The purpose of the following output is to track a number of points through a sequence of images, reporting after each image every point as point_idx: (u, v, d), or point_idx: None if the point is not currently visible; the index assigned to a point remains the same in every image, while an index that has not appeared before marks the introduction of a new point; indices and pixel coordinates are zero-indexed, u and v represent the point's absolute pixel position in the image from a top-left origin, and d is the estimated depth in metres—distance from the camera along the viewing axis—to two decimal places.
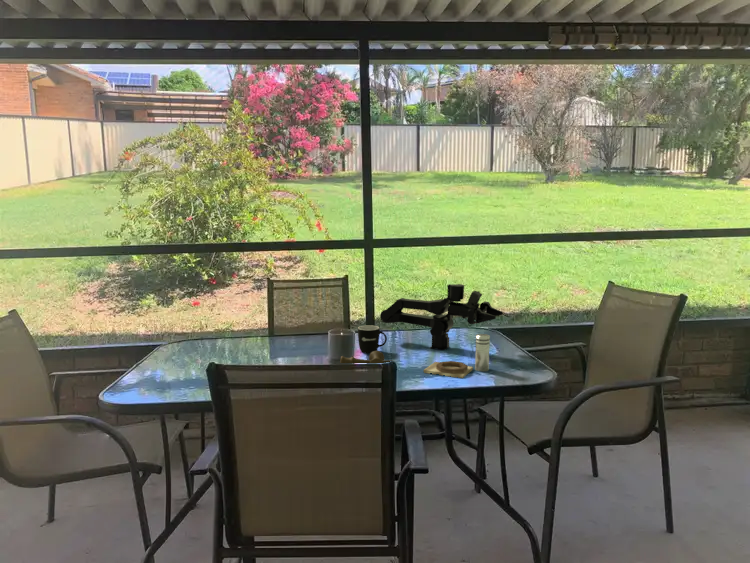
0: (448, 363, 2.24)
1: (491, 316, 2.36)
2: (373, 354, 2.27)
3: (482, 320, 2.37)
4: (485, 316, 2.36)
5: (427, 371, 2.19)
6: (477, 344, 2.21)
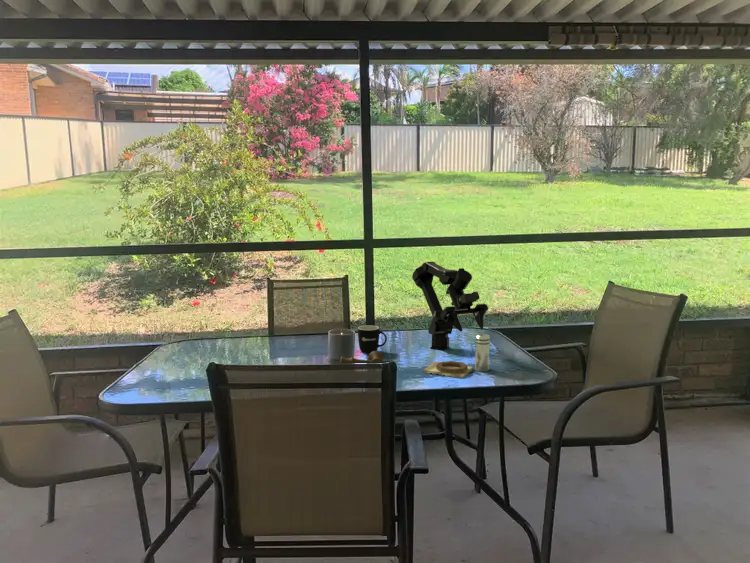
0: (448, 363, 2.24)
1: (459, 327, 2.27)
2: (372, 354, 2.27)
3: (452, 323, 2.30)
4: (455, 322, 2.29)
5: (427, 371, 2.19)
6: (477, 344, 2.21)
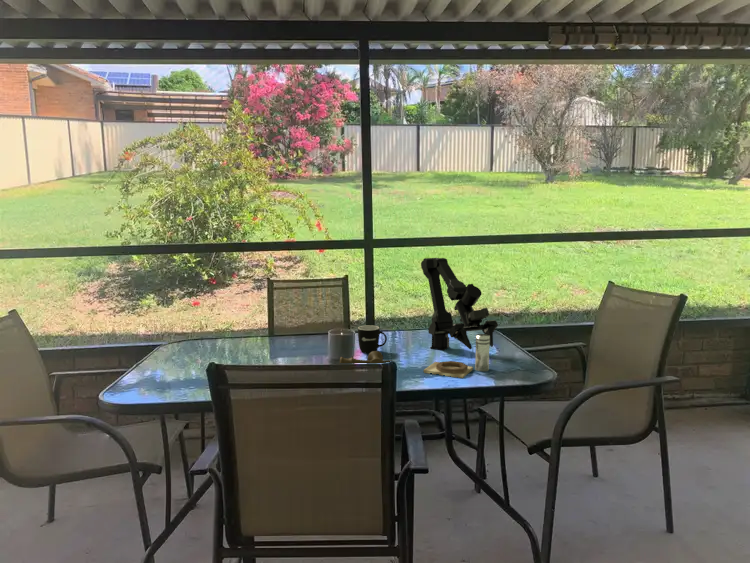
0: (448, 363, 2.24)
1: (468, 345, 2.22)
2: (372, 354, 2.27)
3: (461, 340, 2.24)
4: (464, 340, 2.23)
5: (427, 371, 2.19)
6: (477, 344, 2.21)
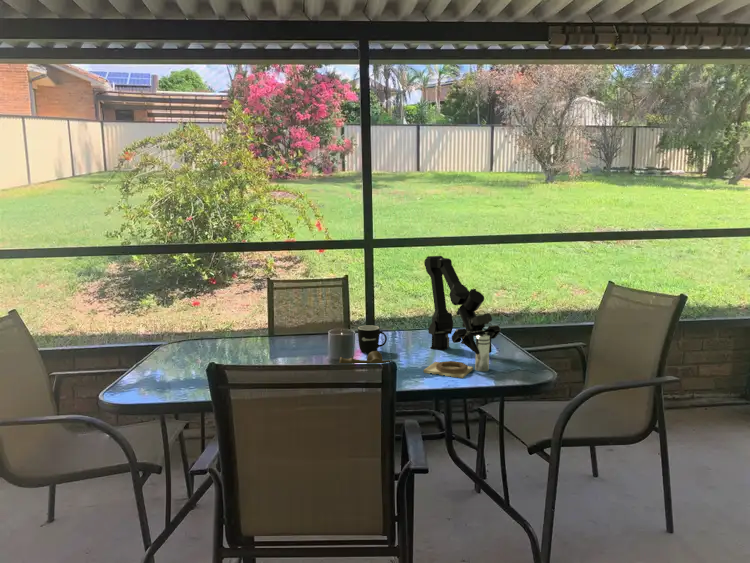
0: (448, 363, 2.24)
1: (475, 350, 2.21)
2: (372, 354, 2.26)
3: (468, 345, 2.24)
4: (471, 345, 2.22)
5: (427, 371, 2.19)
6: (477, 344, 2.21)
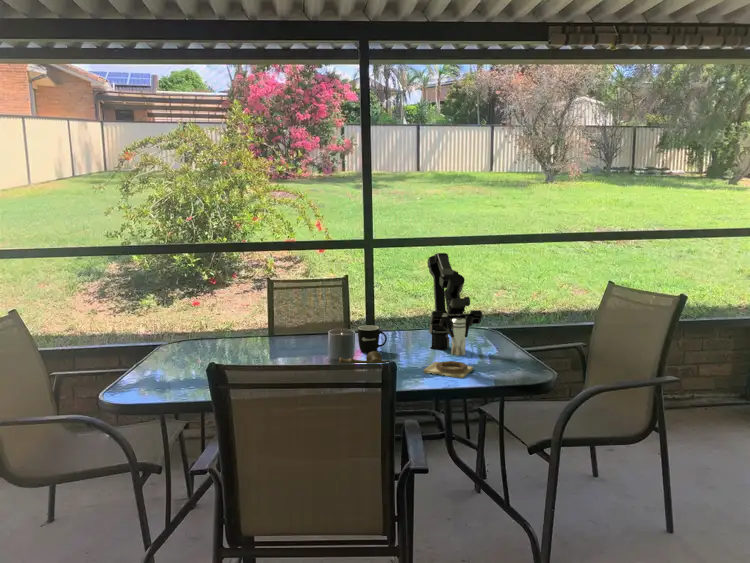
0: (448, 363, 2.24)
1: (450, 333, 2.18)
2: (371, 355, 2.26)
3: (445, 328, 2.21)
4: (447, 328, 2.19)
5: (427, 371, 2.19)
6: (452, 327, 2.18)
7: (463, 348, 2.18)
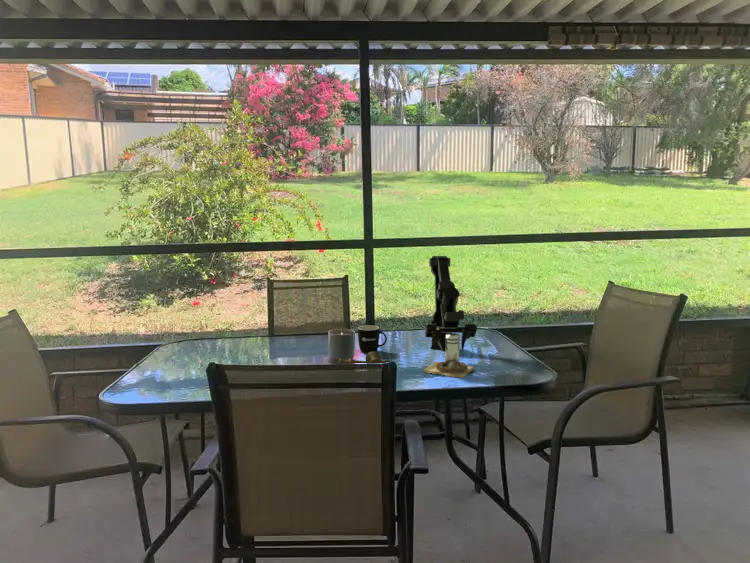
0: None
1: (441, 346, 2.19)
2: (370, 355, 2.26)
3: (437, 341, 2.22)
4: (439, 341, 2.20)
5: (427, 371, 2.19)
6: (445, 343, 2.18)
7: (456, 364, 2.18)
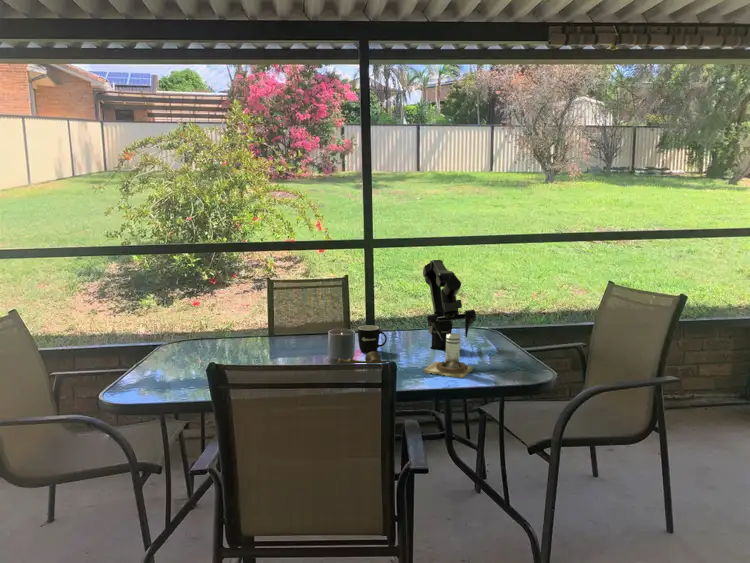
0: None
1: (440, 336, 2.30)
2: (370, 355, 2.26)
3: (436, 330, 2.33)
4: (438, 331, 2.31)
5: (427, 371, 2.19)
6: (446, 343, 2.19)
7: (456, 364, 2.18)
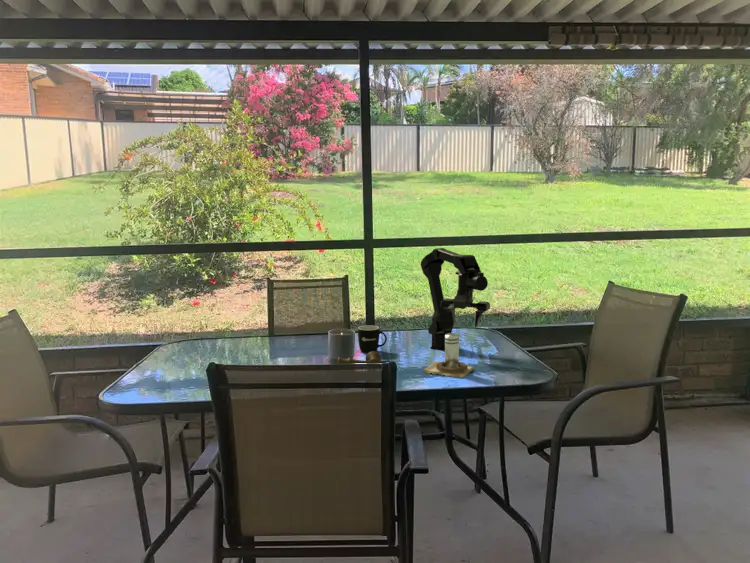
0: None
1: None
2: (370, 355, 2.26)
3: None
4: None
5: (427, 371, 2.19)
6: (445, 343, 2.18)
7: (456, 364, 2.18)
